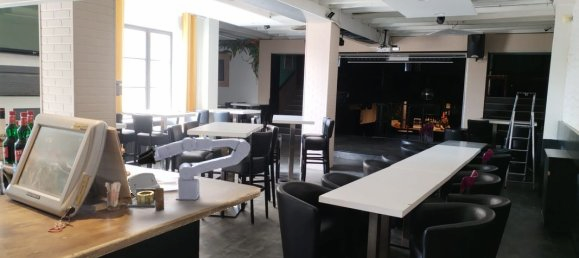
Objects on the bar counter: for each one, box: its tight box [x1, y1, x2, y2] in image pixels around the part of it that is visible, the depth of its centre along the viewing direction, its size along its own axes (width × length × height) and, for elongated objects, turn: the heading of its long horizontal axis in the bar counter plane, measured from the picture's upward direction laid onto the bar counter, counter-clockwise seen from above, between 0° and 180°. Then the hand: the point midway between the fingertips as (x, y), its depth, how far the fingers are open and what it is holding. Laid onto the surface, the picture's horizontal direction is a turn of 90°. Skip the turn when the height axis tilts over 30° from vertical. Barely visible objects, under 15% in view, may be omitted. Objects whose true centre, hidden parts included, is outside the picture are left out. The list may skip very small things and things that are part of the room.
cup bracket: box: [127, 188, 156, 208], centre depth 189 cm, size 12×12×5 cm
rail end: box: [155, 187, 165, 212], centre depth 180 cm, size 4×4×9 cm
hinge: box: [127, 172, 161, 196], centre depth 208 cm, size 17×5×10 cm, turn 149°
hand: (138, 159), depth 191 cm, fingers open, 7 cm apart
